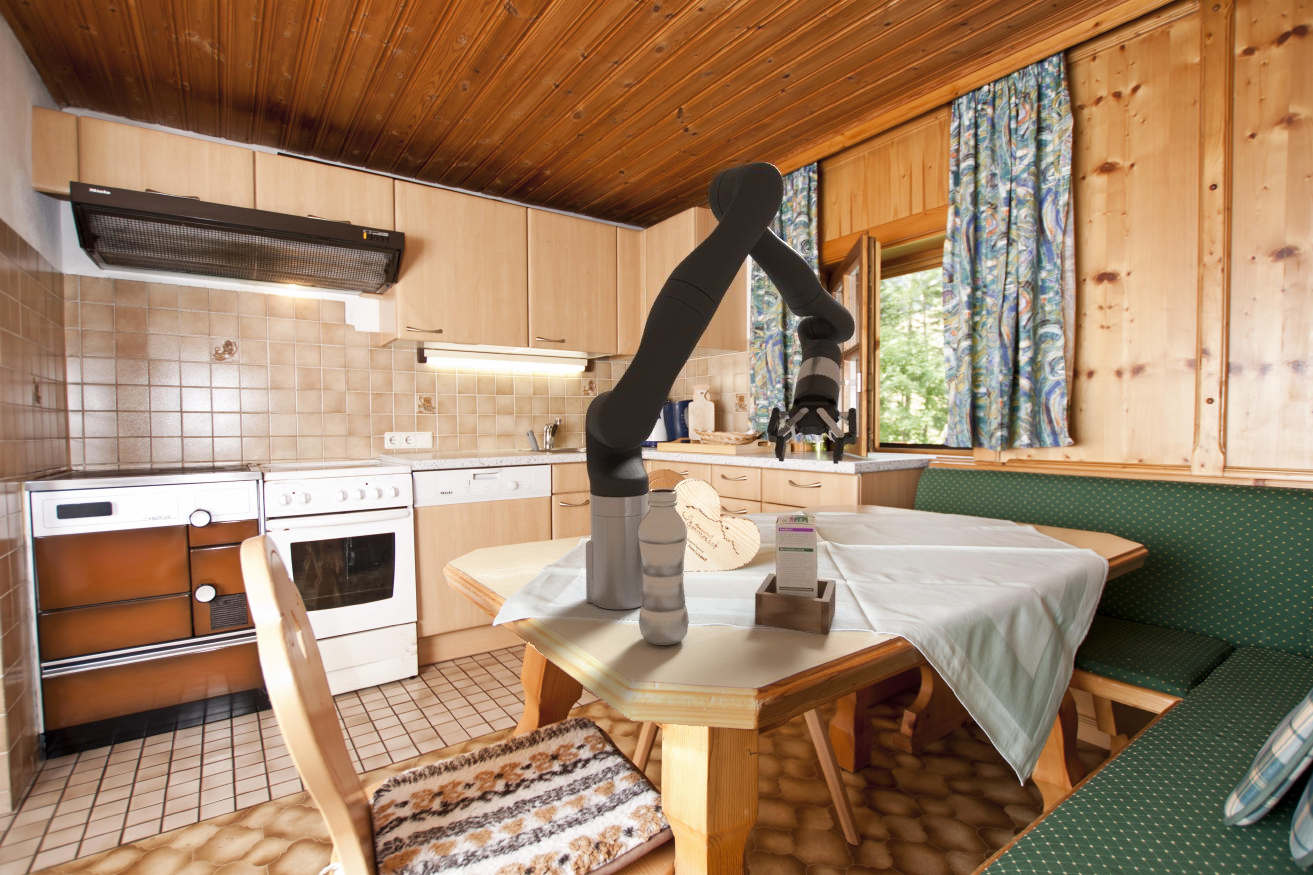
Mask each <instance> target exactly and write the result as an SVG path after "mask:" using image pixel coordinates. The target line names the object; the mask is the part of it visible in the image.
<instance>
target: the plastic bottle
mask: <svg viewBox="0 0 1313 875" xmlns="http://www.w3.org/2000/svg"><path fill="white" fill-rule="evenodd" d="M677 492H678V491H677V489H675V488H674V489H673V488H654V489H649V501H648V505H649V511H648V513H647V514H646V515H645V517H644V518H643V520H642V522H641V523H640V525H639V529H638V539H639V545H640V551H641V557H642V570H643V593H642V606H640V610H639V615H638V616H639V617H638V625H639V630H640V631H639V632H640V635H641V637H642V638H643V639H644V640H645V642H647V643H649V644H652V645H656V646H669V645H670V646H671V645H674V644H678V643H680V642H682V641H683V640H684V638H685V637H686V636H687V634H688V628H689V624H690V623H689V622H690V621H689V620H690V619H689V613H688V612H689V611H688V608H687V604H686V597H685V596H686V595H685V586H684V585H685V584H684V575H685V574H684V570H685V554H686V547H687V539H688V528H687V525H686V523H685V521H684V520H683V518H682V516H681V514H679V512H678V511H677V510H676V506H677V505H678V499H677V497H678V493H677Z"/></svg>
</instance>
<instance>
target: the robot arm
mask: <svg viewBox="0 0 1313 875" xmlns="http://www.w3.org/2000/svg"><path fill="white" fill-rule="evenodd" d="M709 184H710V185H709V188H708V193H707V194H708V195H707V196H708V198H707V199H708V205H709V208H710V210H711V212H712V214H713V216H714V218H715V219H716V220H717V221H718V224H717V225H716V227H715V228H714V229H713V231H711V233H710V234H709V235H708V236H707V237H706V238H705V239H704V240H702V242H701V243H699V245H698V246H696V247H695V248H694V249H693V250H692V251H691V252H689V254H688V255H687V256H686V257H685V258H684V259H682V260H681V261H680V262H679V263H678V264H677V265H676V266H675V268H674V269H673V270H672V272H671V273H670V275H669V276H668V277H667V279H666V280H665V283H664V284H663V286H662V288H661V289H660V291H659V292H658V294H657V296H656V298H655V300H654V302H653V303H652V306H651V308H650V310H649V313H648V315H647V318H646V320H645V324H644V328H643V333H642V336H641V339H640V342H639V347H637V348H638V349H637V351H636V354H635V355H634V356H633V359H632V361H631V363H630V364H629V366H628V367H627V369H626V370H625V372H624V373H623V375H622V377H621V378H620V379H619V380H618V382H617V383H616V385H615V386H614V387H613V389H612V390H608V391H604V392H601V393H599V394H598V395H597V396H595V397H594V398H593V399H592V400H591V402H590V403H589V405H588V407H587V410H586V414H585V420H584V422H585V424H584V425H585V427H584V428H585V430H584V431H585V432H584V433H585V457H586V458H585V459H586V460H585V461H586V470H587V471H586V472H587V476H588V479H589V481H588V482H589V496H590V497H589V499H590V500H589V502H590V506H589V507H590V508H589V510H590V512H589V513H590V540H587V541H586V543H585V581H586V582H585V584H586V585H585V588H586V589H585V590H586V593H585V595H586V600H585V601H586V602H587V603H591V604H594V605H595V606H597V607H599V608H602V609H608V610H631V609H636V608H641V606H642V593H643V570H642V557H641V551H640V545H639V539H638V529H639V525H640V523H641V522H642V520H643V518H644V517H645V515H646V514H647V513H648V511H649V510H650V506H649V505H648V501H649V490H650V479H649V474H648V472H647V470H646V468H645V464H644V461H643V450H642V449H643V447H642V445H643V444H645V443H646V441H647V440H648V439H649V438H650V436H651V435H652V434H653V431H654V429H655V427H656V425H657V422H658V420H659V418H660V416H661V413H662V410H663V408H664V406H665V404H666V401H667V399H668V397H669V394H670V391H671V390H672V388H673V386H674V384H675V382H676V380H677V379H678V376H679V375H680V373H681V371H682V370H683V368H684V366H685V365H686V363H687V361H688V360H689V359H690V357H691V355H692V354H693V352H694V350H695V348H696V346H697V345H698V343H699V341H700V340H701V338H702V336H703V334H704V333H705V331H706V330H707V328H708V326H710V323H711V321H712V320H713V318H714V316H715V314H716V312H717V311H718V309H719V307H720V305H721V303H722V301H723V299H724V298H725V295H726V293H727V291H728V290H729V288H730V287H731V284H732V283H733V281H734V279H735V278H736V277H737V275H738V273H739V271H740V269H741V267H742V266H743V264H744V262H745V260H746V259H747V257H748V256H750V257H751V258H752V260H753V261H754V262H755V263H756V264H757V265H758V266H759V267H760V269H761V270H762V271H763V272H764V273H765V274H766V276H767V277H768V278H769V280H770V281H771V283H772V284H773V286H774V287H775V289H776V290H777V291H778V293H779V295H780V296H781V298H782V299H783V301H784V302H785V304H786V305H787V307H788V309H789V311H791V313H792V314H793V315H795V316H797V317H798V318H799V317H800V318H803V319H801V321H800V322H799V324H798V325H797V328H796V329H797V331H796V332H797V337H798V340H799V343H800V349H801V363H800V367H799V371H798V374H797V377H796V382H795V387H794V388H795V389H794V394H793V400H792V405H791V407H790V409H789V410H788V411H785V410H783V411H782V410H781V409H780V408H779V407H777V406H775V407H773V408H772V411H771V414H770V417H769V422H768V425H767V429H766V433H767V438H768V441H769V443H774V442H775V447H774V454H775V457H776V459H778V462H785V457H786V456H785V455H786V452H787V450H786V449H787V443H789V441H791V440H795V439H796V438H798V437H799V436H800V435H801V434H802V435H803V436H810V435H814V436H822V435H823V434H824V435H825V436H826V437H827V438H829V441H833V452H832V461H833V464H834V465H839V462H841V461H843V459H844V455H845V454H844V453H845V452H844V451H845V446H846V445H853V446H854V445H856V444H857V443H858V440H857V439H858V438H857V436H858V435H857V434H858V431H857V424H858V423H857V421H858V420H857V409H856V408H854V407H850V408H849V409H848V411H840V410H839V398H840V393H841V366H842V365H841V364H842V350H841V348H840V346H839V345H840V344H843V343H846V342H848V341H849V340H850V339H852V338H853V336H854V334H855V330H856V324H855V321H854V320H855V319H854V318H853V315H852V313H851V312H850V310H848V308H846V306H845V305H843V304H842V303H841V301H839V300H837V298H835V297H834V296H833V295H832V294H830V292H828V291H827V290H826V289H825V288H824V286H823V285H822V283H821V281H820V279H819V278H818V276H817V274H816V273H815V270H814V269H813V268H812V266H811V265H810V263H809V262H808V261H807V259H805V258H804V257H803V256H802V255H801V253H799V252H798V251H797V250H795V249H794V248H792V246H790V245H789V244H787V243H786V242H785V241H784V240H782V239H781V238H780V237H779V236H778V235H777V234H776V233H775V232H774V231H773V230H772V229H771V227H770V224H772V222H773V221H774V219H775V218H776V215H777V214H778V212H779V210H780V208H781V205H782V202H783V198H784V188H785V184H784V178H783V175H782V173H781V171H780V170H779V169H778V168H777V167H776V165H774V164H772V163H770V162H765V161H755V162H754V161H753V162H749V163H746V164H742V165H738V166H734V167H731V168H727V169H724V170H722V171H721V172H719V173H717V174H716V175H715V176H714V177H713V178H712V180H711V182H710V183H709ZM786 420H788V421H787V422H786V423H785V425H784V426H783V427H782V428H781V429H780V425H781V426H782V425H783V423H784V422H785V421H786ZM841 420H842V421H843V424H845V425H846V426H848V431H846V432H844V431H843V430H842V429H840V427H839V426H838V424H837V423H839V421H841Z"/></svg>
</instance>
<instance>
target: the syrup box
mask: <svg viewBox="0 0 1313 875" xmlns="http://www.w3.org/2000/svg"><path fill="white" fill-rule="evenodd" d="M816 519H817V518H816V517H815V516H811V515H804V514H802V515H799V514H794V515H793V514H788V515H787V514H786V515H778V516H777V519H776V520H775V574H776V593H777V594H785V595H794V596H802V597H810V598H817V578H818V541H817V540H818V538H817V536H818V535H817V520H816Z"/></svg>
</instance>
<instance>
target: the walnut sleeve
mask: <svg viewBox="0 0 1313 875" xmlns="http://www.w3.org/2000/svg"><path fill="white" fill-rule="evenodd" d="M836 585H837V582H836V580H835V579H825V578H818V577H817V598H810V597H802V596H794V595H785V594H777V593H776V573H768V574H767V575H766V577H765V579H764V580H763V581H762V583H761V584H760V586H759V587H758V589H757V590H756V591H755V593H754V598H755V599H754V624H756V626H762V625H763V627H771V628H777V629H785V630H790V631H791V630H792V631H798V632H807V633H811V634H812V633H813V634H819V635H820V634H821V635H827V636H829V635H830V631H831V628H832V627H831V626H832V624H833V620H834V616H835V611H836Z"/></svg>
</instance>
